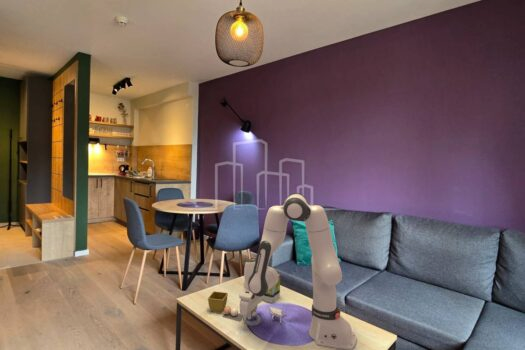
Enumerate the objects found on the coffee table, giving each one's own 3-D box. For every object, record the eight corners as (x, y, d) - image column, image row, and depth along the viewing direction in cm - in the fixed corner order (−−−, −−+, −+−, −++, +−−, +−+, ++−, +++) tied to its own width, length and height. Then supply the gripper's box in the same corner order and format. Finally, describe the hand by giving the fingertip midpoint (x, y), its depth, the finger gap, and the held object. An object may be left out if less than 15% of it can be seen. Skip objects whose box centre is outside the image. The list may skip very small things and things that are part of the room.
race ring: (262, 320, 157) (262, 316, 157) (255, 328, 149) (255, 324, 149) (248, 316, 161) (248, 312, 160) (240, 324, 153) (240, 320, 153)
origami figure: (289, 320, 158) (289, 311, 158) (279, 326, 152) (279, 317, 151) (272, 312, 166) (272, 303, 166) (262, 318, 160) (262, 309, 160)
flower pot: (222, 316, 161) (222, 299, 160) (207, 314, 162) (207, 298, 162) (227, 308, 169) (228, 292, 169) (213, 306, 171) (213, 291, 170)
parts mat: (246, 317, 160) (246, 315, 160) (240, 323, 154) (240, 321, 154) (228, 312, 165) (228, 310, 165) (221, 318, 158) (221, 316, 158)
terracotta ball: (232, 313, 162) (232, 305, 162) (228, 316, 158) (228, 309, 158) (226, 311, 164) (226, 304, 163) (222, 315, 160) (222, 307, 160)
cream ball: (237, 305, 161) (232, 308, 163) (233, 308, 157) (227, 311, 159) (240, 312, 160) (235, 315, 161) (236, 315, 156) (231, 318, 158)
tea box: (280, 297, 184) (280, 273, 183) (271, 304, 175) (272, 279, 174) (259, 291, 192) (260, 268, 191) (250, 297, 183) (251, 273, 182)
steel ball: (257, 316, 156) (257, 309, 156) (253, 320, 152) (253, 313, 152) (250, 315, 157) (250, 307, 157) (246, 318, 154) (246, 311, 154)
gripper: (255, 281, 165) (255, 305, 165) (237, 296, 146) (237, 324, 147) (266, 283, 162) (265, 308, 163) (249, 299, 143) (248, 327, 144)
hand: (252, 315), depth 155 cm, fingers closed on steel ball, 4 cm apart
